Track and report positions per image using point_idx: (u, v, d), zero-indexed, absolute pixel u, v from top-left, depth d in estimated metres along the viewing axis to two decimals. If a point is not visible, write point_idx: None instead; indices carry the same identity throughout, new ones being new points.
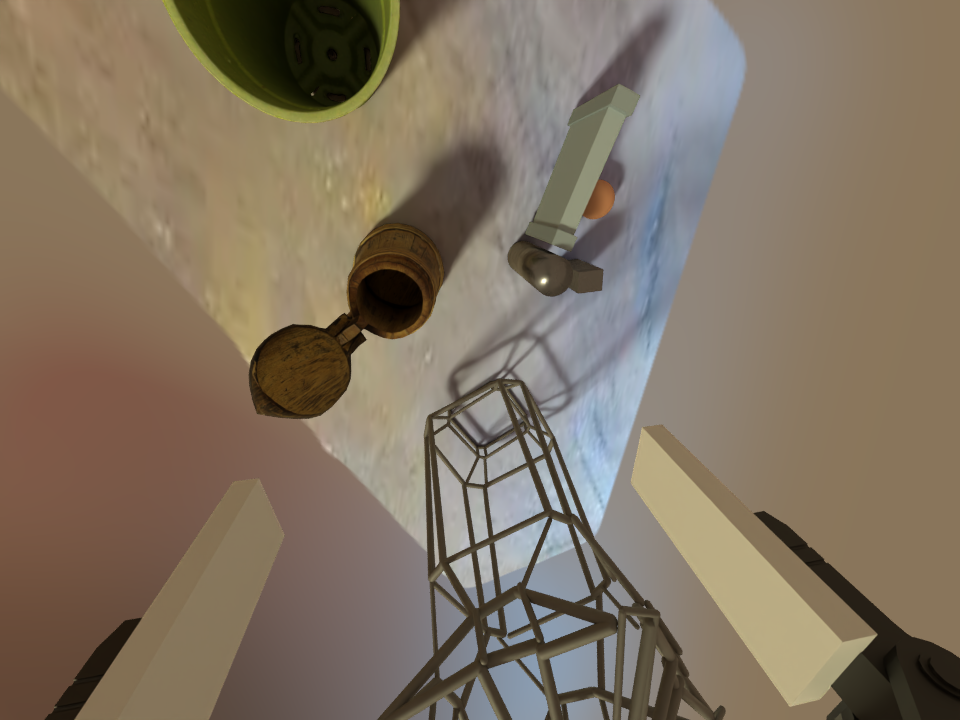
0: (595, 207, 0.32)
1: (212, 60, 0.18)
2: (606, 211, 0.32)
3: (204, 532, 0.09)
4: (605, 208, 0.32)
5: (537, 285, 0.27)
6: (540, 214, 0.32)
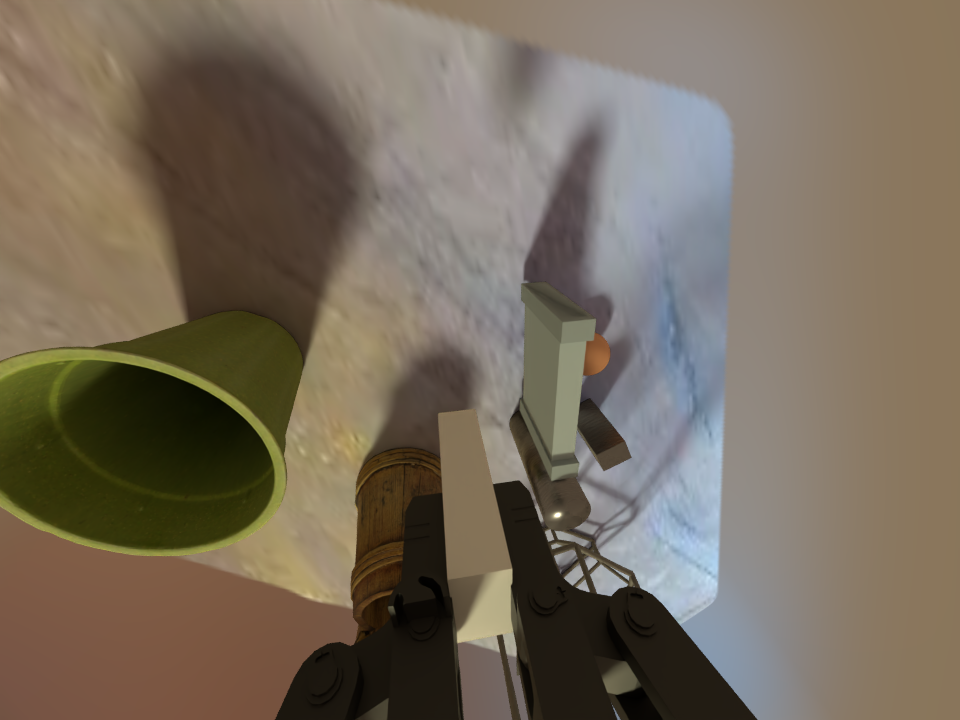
0: (589, 372, 0.26)
1: (120, 544, 0.17)
2: (604, 367, 0.26)
3: (443, 442, 0.12)
4: (602, 367, 0.26)
5: (551, 527, 0.23)
6: (528, 402, 0.27)
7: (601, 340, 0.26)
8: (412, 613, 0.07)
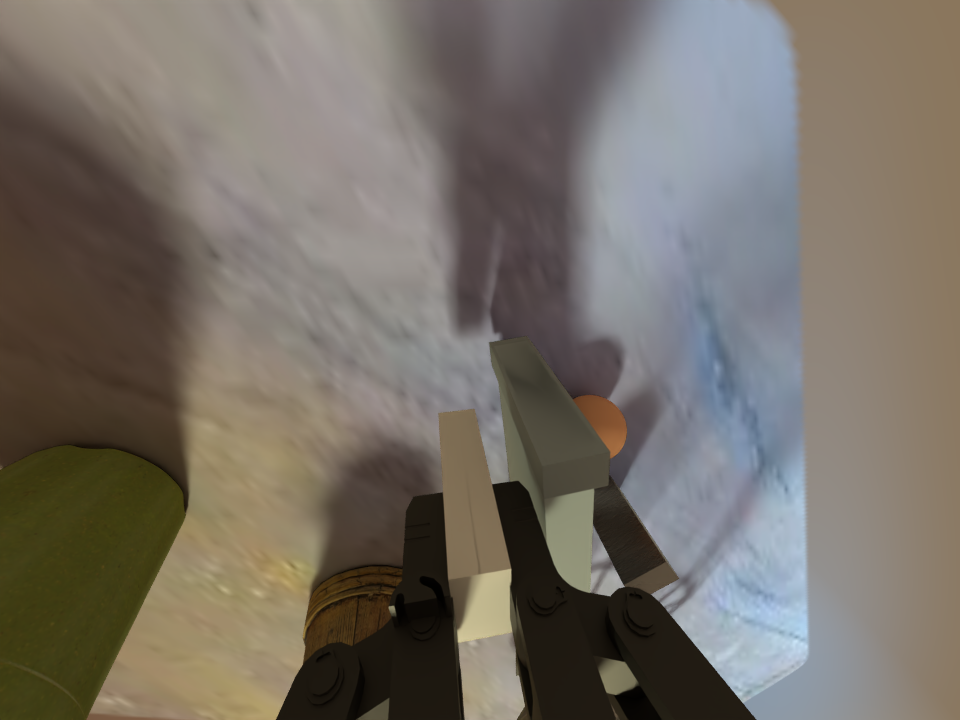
0: None
1: None
2: (620, 449, 0.17)
3: (443, 442, 0.12)
4: (616, 453, 0.17)
5: None
6: None
7: (609, 412, 0.17)
8: (413, 613, 0.07)
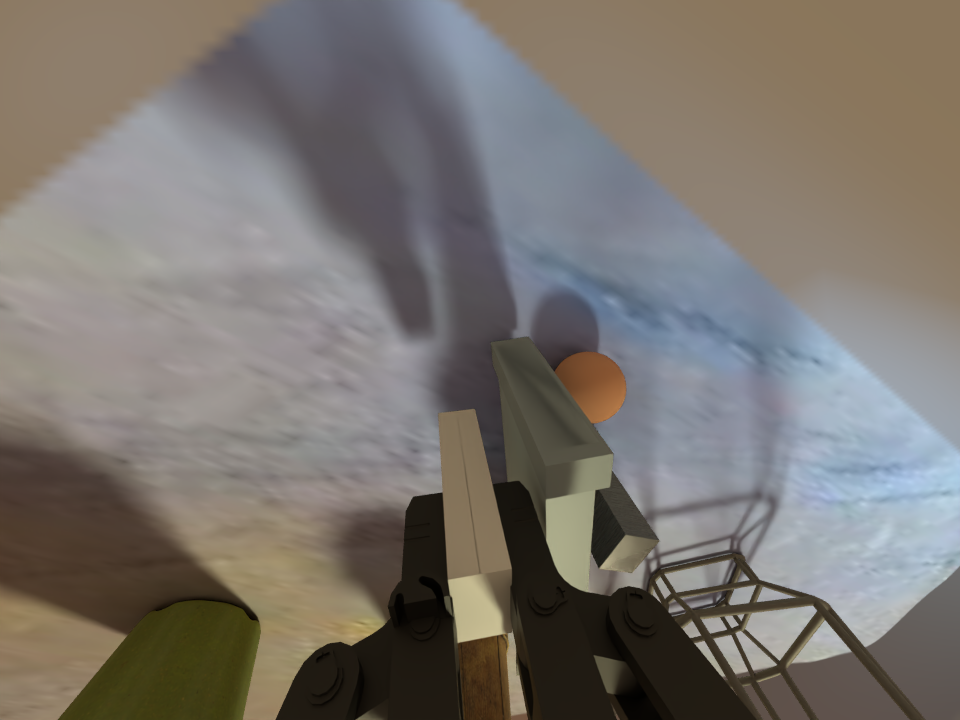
0: None
1: None
2: None
3: (443, 442, 0.12)
4: None
5: None
6: None
7: (569, 357, 0.17)
8: (413, 613, 0.07)
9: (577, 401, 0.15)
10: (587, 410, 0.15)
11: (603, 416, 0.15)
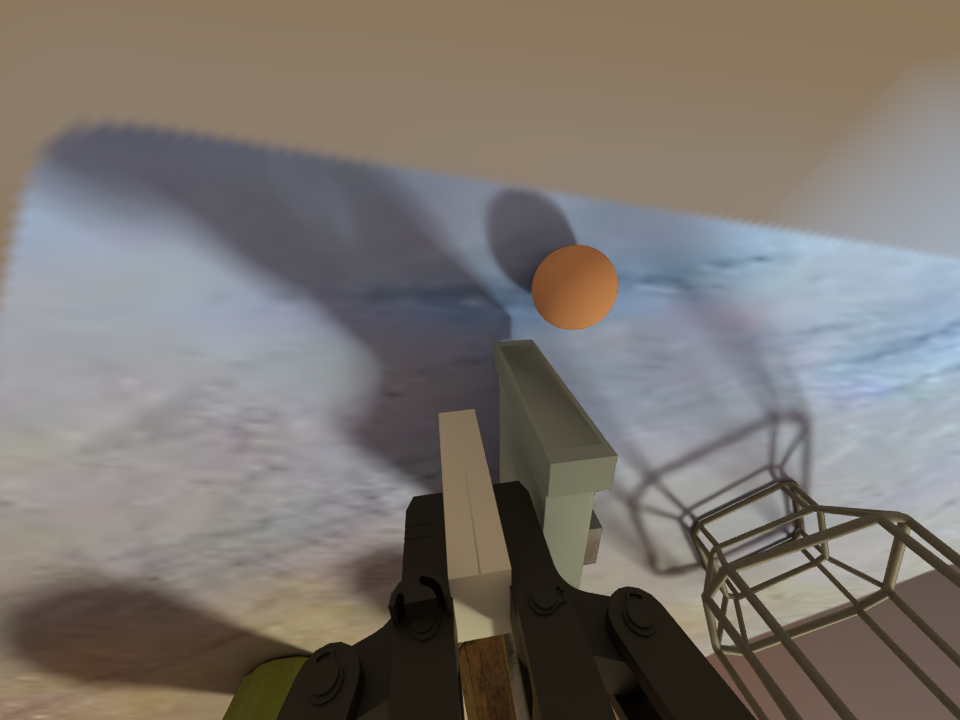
0: (605, 308, 0.13)
1: None
2: (614, 273, 0.13)
3: (443, 442, 0.12)
4: (612, 282, 0.13)
5: None
6: None
7: (562, 260, 0.13)
8: (413, 613, 0.07)
9: None
10: None
11: None
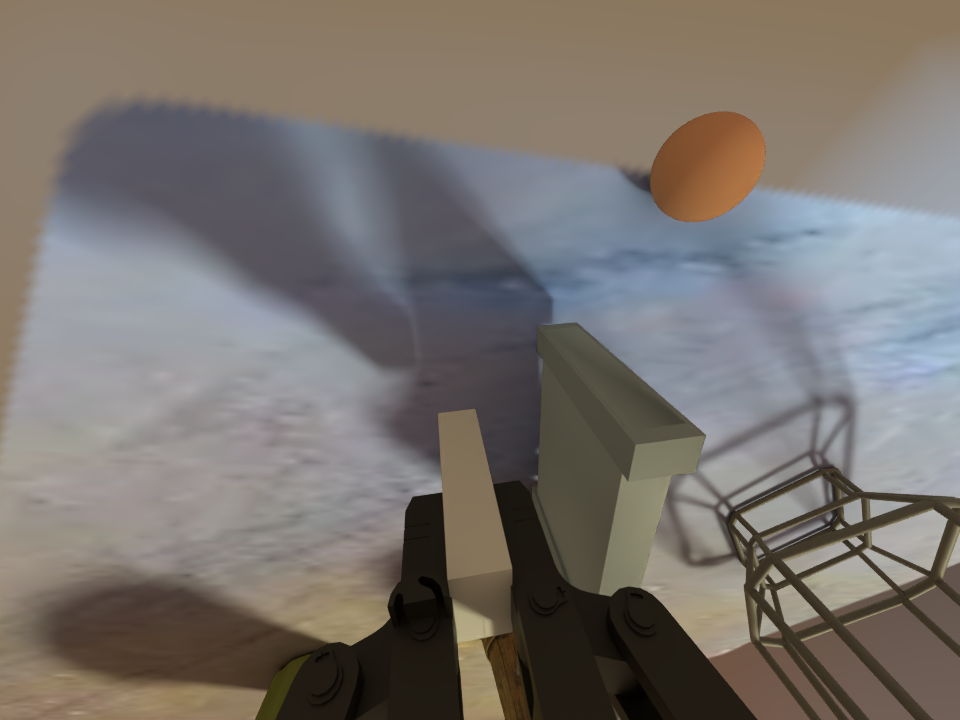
0: None
1: None
2: None
3: (443, 442, 0.12)
4: None
5: None
6: (545, 502, 0.17)
7: (666, 141, 0.13)
8: (412, 613, 0.07)
9: (690, 186, 0.12)
10: (708, 193, 0.11)
11: (734, 193, 0.11)
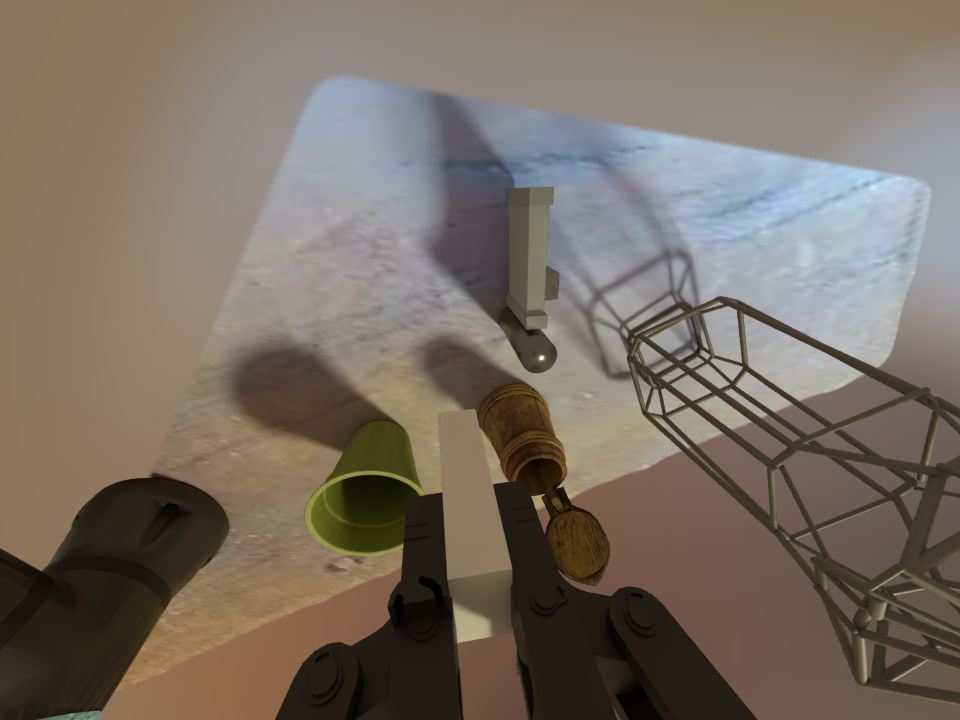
0: None
1: None
2: None
3: (443, 442, 0.12)
4: None
5: (544, 370, 0.30)
6: (512, 288, 0.34)
7: None
8: (412, 613, 0.07)
9: None
10: None
11: None
